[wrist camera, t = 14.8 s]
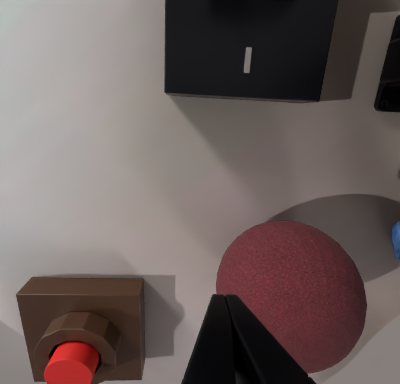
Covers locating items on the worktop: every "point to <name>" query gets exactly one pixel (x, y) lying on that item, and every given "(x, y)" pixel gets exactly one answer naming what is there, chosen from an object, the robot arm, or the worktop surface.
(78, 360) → the power button
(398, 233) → the blue bumpy cluster
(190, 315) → the worktop surface
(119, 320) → the block
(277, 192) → the worktop surface
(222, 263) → the decorative ball
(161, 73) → the worktop surface
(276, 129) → the worktop surface
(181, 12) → the dial panel
